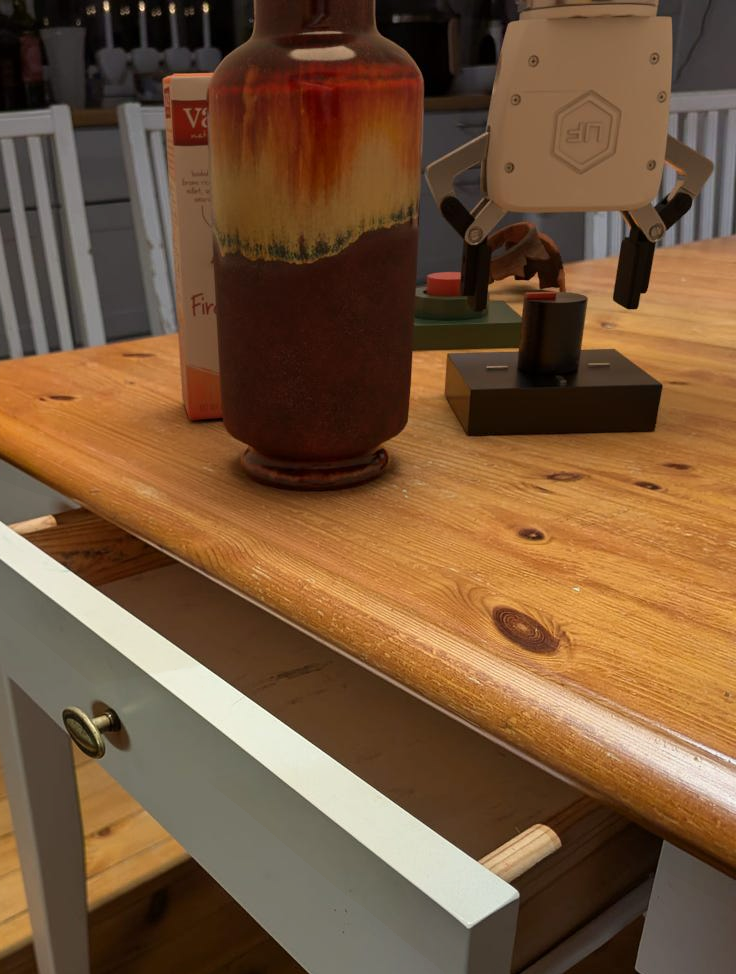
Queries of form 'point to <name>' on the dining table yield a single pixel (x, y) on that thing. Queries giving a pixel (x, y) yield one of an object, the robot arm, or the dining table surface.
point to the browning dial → (551, 332)
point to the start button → (443, 284)
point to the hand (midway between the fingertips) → (550, 306)
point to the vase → (315, 240)
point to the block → (463, 324)
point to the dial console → (551, 395)
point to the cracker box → (193, 242)
